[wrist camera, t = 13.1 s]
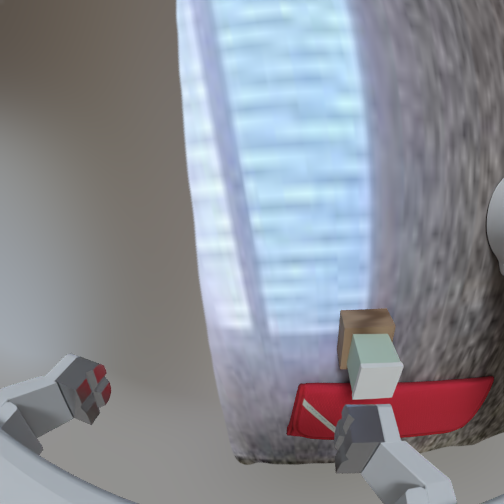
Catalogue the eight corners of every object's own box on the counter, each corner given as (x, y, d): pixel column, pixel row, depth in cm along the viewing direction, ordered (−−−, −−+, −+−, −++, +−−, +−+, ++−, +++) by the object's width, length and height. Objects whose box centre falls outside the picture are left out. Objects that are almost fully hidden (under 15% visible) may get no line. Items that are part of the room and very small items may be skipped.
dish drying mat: (459, 423, 47) (464, 435, 43) (286, 428, 51) (285, 442, 48) (491, 372, 42) (498, 383, 38) (300, 372, 46) (299, 387, 43)
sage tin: (388, 333, 36) (403, 366, 29) (380, 363, 37) (391, 397, 31) (352, 333, 36) (361, 367, 30) (345, 364, 38) (352, 399, 31)
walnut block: (386, 307, 40) (395, 325, 35) (380, 346, 42) (386, 366, 38) (340, 309, 41) (344, 328, 36) (336, 348, 43) (340, 369, 39)
